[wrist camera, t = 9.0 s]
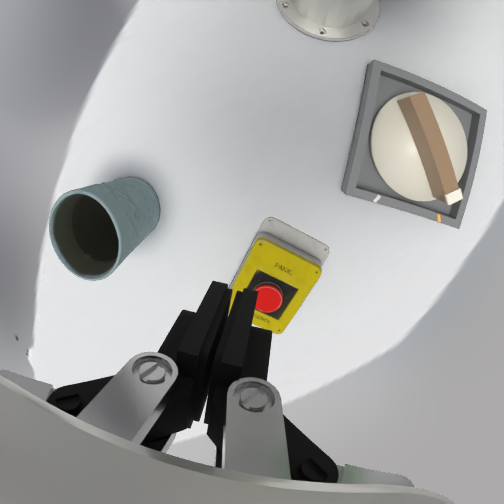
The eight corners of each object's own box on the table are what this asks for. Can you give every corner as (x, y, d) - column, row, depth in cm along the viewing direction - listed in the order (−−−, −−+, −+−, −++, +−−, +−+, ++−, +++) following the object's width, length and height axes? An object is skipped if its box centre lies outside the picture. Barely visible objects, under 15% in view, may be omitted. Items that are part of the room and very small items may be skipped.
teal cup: (169, 178, 37) (122, 197, 26) (162, 250, 41) (121, 292, 30) (104, 168, 37) (46, 185, 26) (102, 236, 41) (51, 269, 30)
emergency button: (212, 321, 39) (264, 222, 34) (219, 304, 43) (267, 213, 38) (275, 350, 40) (336, 260, 34) (277, 331, 44) (331, 246, 38)
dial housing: (367, 65, 29) (374, 59, 26) (474, 110, 28) (487, 110, 25) (340, 190, 35) (345, 194, 32) (448, 222, 34) (459, 229, 31)
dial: (350, 113, 30) (362, 109, 25) (438, 81, 27) (461, 75, 22) (392, 214, 34) (408, 228, 29) (473, 178, 30) (497, 186, 25)
